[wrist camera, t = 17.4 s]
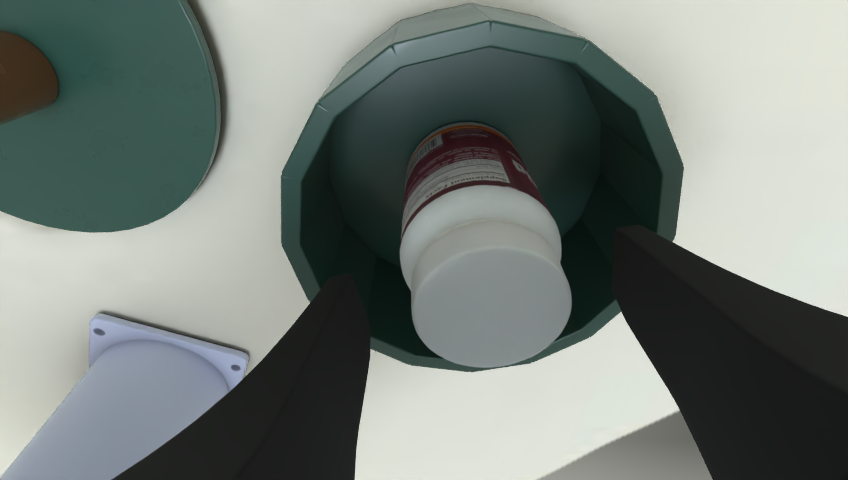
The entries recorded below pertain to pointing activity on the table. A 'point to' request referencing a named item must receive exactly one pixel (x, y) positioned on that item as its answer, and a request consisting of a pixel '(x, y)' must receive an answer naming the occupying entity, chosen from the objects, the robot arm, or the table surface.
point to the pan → (496, 107)
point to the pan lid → (103, 111)
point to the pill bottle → (480, 250)
